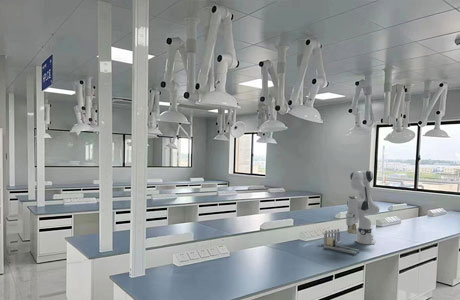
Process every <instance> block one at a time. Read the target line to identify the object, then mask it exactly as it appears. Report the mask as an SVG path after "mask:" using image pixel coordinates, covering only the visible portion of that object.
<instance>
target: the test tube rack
mask: <svg viewBox="0 0 460 300" xmlns="http://www.w3.org/2000/svg"><path fill="white" fill-rule="evenodd" d="M342 232H343V230H340V228H337V229H336V228H335V229H331V230H330V229H329V230H328V231H327V230H325V231H324V232H322V233H321V234H323V243H321V245H323V246H324V245H327V238H328V237H329V238H334V239H335V245H337V244H340V243H341V244H342V243H343V241H341V233H342Z"/></svg>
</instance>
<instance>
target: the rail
mask: <svg viewBox="0 0 460 300" xmlns="http://www.w3.org/2000/svg"><path fill="white" fill-rule="evenodd" d="M323 248H324V249H325V250H330V251H335V252H338V253H343V254H347V255H353V256H356V255H358V254H359V253H360V249H357V248H353V247H349V246H345V245H344V246H343V245H338V244H335V239H334V237H333V238H331V237H330V238H329V237H328V236H327V245H323Z"/></svg>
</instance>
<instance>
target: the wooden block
mask: <svg viewBox="0 0 460 300" xmlns="http://www.w3.org/2000/svg"><path fill="white" fill-rule="evenodd" d="M352 228H353V229H352V230H350V226H348V225H347V233H348V234H353V235H357V223H356V224H353V225H352Z"/></svg>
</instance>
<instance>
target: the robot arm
mask: <svg viewBox="0 0 460 300" xmlns="http://www.w3.org/2000/svg"><path fill="white" fill-rule="evenodd" d="M373 179H374V173H373V172H372V171H371V170H368V169H367V170H359V171H354V172H351V173H350V180H351V181H350V186H351V187H352V188H351V189H354V190H355V191H357V192H358V197H359V198H358V197H357V196H355V195H349V196H348V199H347V203H346V205H347V206H346V207H347V212H346V214H345V217H346V218H345V222H346V225H347V227H348V226H350V230H352V229H353V228H352V225H353V224H356V225H357V224H358V228H357V231H358V232H357V231H356V238H355V239H354V241H355V242H357V243H358V244H364V245H375V244H376V242H377V241H376V240H375V239H374V235H373V233H372V230H373V228H372V221H371V220H370V219H369V218H368V217H366V216H365V215H367V216H369V215H370V216H374V215H375V216H376V215H378V214H379V212H380V207H379V206H378V204H376V203H375V202H374V201H373V199H372V192H371V191H372V189H371V184H370V183H371V181H373Z"/></svg>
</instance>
